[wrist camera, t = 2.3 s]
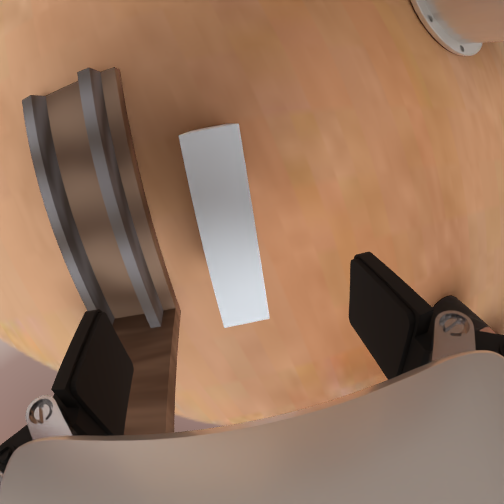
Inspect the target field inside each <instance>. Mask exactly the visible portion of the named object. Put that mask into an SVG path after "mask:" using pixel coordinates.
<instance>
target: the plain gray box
mask: <svg viewBox="0 0 504 504" xmlns="http://www.w3.org/2000/svg"><path fill="white" fill-rule="evenodd" d="M179 140H180V145H181V150H182V155H183V160H184V165H185V170H186V175H187V179H188V184H189V188H190V193H191V197H192V202H193V206H194V211H195V215H196V219H197V224H198V228H199V232H200V236H201V241H202V245H203V249H204V253H205V257H206V261H207V265H208V269H209V273H210V277H211V280H212V284H213V288H214V292H215V296H216V299H217V303H218V307H219V310H220V314H221V318H222V321H223V325H224V328H226V327H231V326H236V325H241V324H246V323H251V322H256V321H260V320H265V319H269V311H268V305H267V298H266V292H265V285H264V279H263V272H262V266H261V259H260V253H259V247H258V240H257V234H256V228H255V221H254V215H253V209H252V203H251V196H250V190H249V184H248V178H247V171H246V165H245V159H244V153H243V147H242V141H241V135H240V129H239V124H223V125H217V126H212V127H207V128H202V129H197V130H192V131H189V132H186V133H183V134H181V135H179Z"/></svg>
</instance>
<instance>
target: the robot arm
mask: <svg viewBox="0 0 504 504" xmlns="http://www.w3.org/2000/svg"><path fill="white" fill-rule="evenodd" d="M411 3H412V5H413V7H414V9H415V11H416V13H417V15H418V17H419V19H420V20H421V22H422V23H423V25H424V26H425V27H426V29H427V30H428V31H429V32H430V34H431V35H432V36H433V37H434V38H435V39H436V40H437V41H438V42H439V43H440V44H441V45H442V46H443V47H445V48H446V49H447V50H449V51H450V52H452V53H454V54H457V55H459V56H472V55H475V54H477V52H478V51H479V50H480V48H481V46H482V43H483V42H502V41H504V0H411ZM433 311H434V309H433V308H432V307H431V306H430V305H429V304H428V303H427V302H426V301H425V300H424V299H422V298H421V297H420V296H419V295H418V294H417V293H416V292H415V291H414V290H413V289H412V288H411V287H410V286H408V285H407V284H406V283H405V282H404V281H403V280H402V279H401V278H400V277H398V276H397V275H396V274H395V273H394V272H393V271H392V270H391V269H389V268H388V267H387V266H386V265H385V264H384V263H383V262H381V261H380V260H379V259H378V258H377V257H376V256H374V255H373V254H372V253H371V252H365V253H361V254H357V255H355V257H354V259H353V260H351V264H350V301H349V320H350V323H351V325H352V327H353V328H354V329H355V331H356V332H357V334H358V335H359V337H360V338H361V340H362V341H363V343H364V344H365V346H366V347H367V349H368V350H369V352H370V353H371V354H372V356H373V357H374V359H375V360H376V362H377V363H378V365H379V366H380V368H381V370H382V371H383V373H384V374H385V376H386V377H387V379H388V380H387V381H384V382H382V383H379V384H376V385H374V386H371V387H368V388H366V389H363V390H360V391H358V392H355V393H352V394H349V395H346V396H343V397H340V398H337V399H334V400H331V401H328V402H325V403H321V404H318V405H315V406H311V407H308V408H304V409H301V410H297V411H293V412H289V413H285V414H281V415H277V416H273V417H269V418H264V419H259V420H255V421H250V422H245V423H239V424H234V425H228V426H222V427H216V428H209V429H201V430H194V431H185V432H175V433H163V434H148V435H124V429H125V422H126V414H127V408H128V401H129V395H130V389H131V383H132V377H133V372H134V367H133V363H132V361H131V359H130V357H129V356H128V354H127V352H126V350H125V348H124V347H123V345H122V343H121V341H120V339H119V337H118V335H117V333H116V331H115V330H114V328H113V326H112V324H111V322H110V320H109V318H108V316H107V314H106V313H105V312H102V311H101V310H100V309H96V310H91V311H86V312H85V314H84V316H83V318H82V320H81V322H80V324H79V326H78V328H77V330H76V332H75V335H74V337H73V339H72V341H71V343H70V346H69V348H68V350H67V352H66V355H65V357H64V359H63V362H62V364H61V366H60V369H59V371H58V374H57V376H56V379H55V381H54V384H53V386H52V391H53V392H54V396H53V397H51V396H48V395H44V396H40V397H38V398H36V399H35V400H34V401H32V402H31V404H30V405H29V406H28V409H27V411H26V421H27V425H26V426H25V427H24V428H22V429H21V430H20V431H18V432H17V433H16V434H14V435H13V436H12V437H10V438H9V439H8V440H6V441H5V442H4V443H2V445H0V504H504V335H500V334H494V333H488V332H483V331H477V330H474V326H473V322H472V321H471V319H470V318H469V317H468V316H466V315H465V314H463V313H461V312H458V311H450V310H448V311H444V312H442V313H440V314H439V315H438V316H437V315H436V314H435V313H434V312H433Z"/></svg>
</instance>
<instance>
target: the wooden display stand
mask: <svg viewBox="0 0 504 504" xmlns="http://www.w3.org/2000/svg"><path fill="white" fill-rule="evenodd" d="M77 74H78V81H77V82H75V83H72V84H70V85H68V86H66V87H63V88H61V89H59V90H57V91H55V92H53V93H51V94H49V95H47V96H37V95H30V96H29V97H27V98H25V99H23V100H22V104H23V112H24V119H25V125H26V131H27V136H28V142H29V147H30V151H31V156H32V160H33V165H34V169H35V173H36V177H37V181H38V184H39V188H40V191H41V195H42V198H43V202H44V205H45V208H46V211H47V214H48V217H49V220H50V223H51V226H52V229H53V232H54V235H55V237H56V240H57V243H58V245H59V248H60V250H61V253H62V255H63V258H64V260H65V263H66V265H67V268H68V270H69V272H70V275H71V277H72V279H73V281H74V283H75V286H76V288H77V290H78V292H79V294H80V296H81V298H82V300H83V302H84V305H85V307H86V309H87V310H88V311H91V310H96V309H100V310H101V311H102V312H105V313H106V314H107V316H108V318H109V320H110V322H111V324H112V326H113V328H114V330H115V331H116V333H117V335H118V337H119V339H120V341H121V343H122V345H123V347H124V348H125V350H126V352H127V354H128V356H129V357H130V359H131V361H132V363H133V367H134V372H133V377H132V383H131V389H130V395H129V401H128V408H127V414H126V422H125V429H124V435H148V434H163V433H174V410H175V385H176V367H177V351H178V338H179V325H180V314H181V310H180V308H179V305H178V302H177V299H176V296H175V293H174V290H173V287H172V284H171V282H170V278H169V275H168V272H167V269H166V266H165V263H164V260H163V257H162V253H161V250H160V247H159V244H158V240H157V237H156V234H155V230H154V227H153V223H152V220H151V216H150V212H149V209H148V205H147V201H146V197H145V193H144V190H143V186H142V182H141V177H140V173H139V169H138V165H137V161H136V156H135V152H134V147H133V142H132V138H131V133H130V128H129V123H128V117H127V112H126V106H125V101H124V95H123V89H122V82H121V76H120V70H119V69H117V68H115V67H113V68H110V69H108V70H105V71H102V72H99V71H96V70H94V69H92V68H87V69H84V70H82V71H79V72H77Z"/></svg>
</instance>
